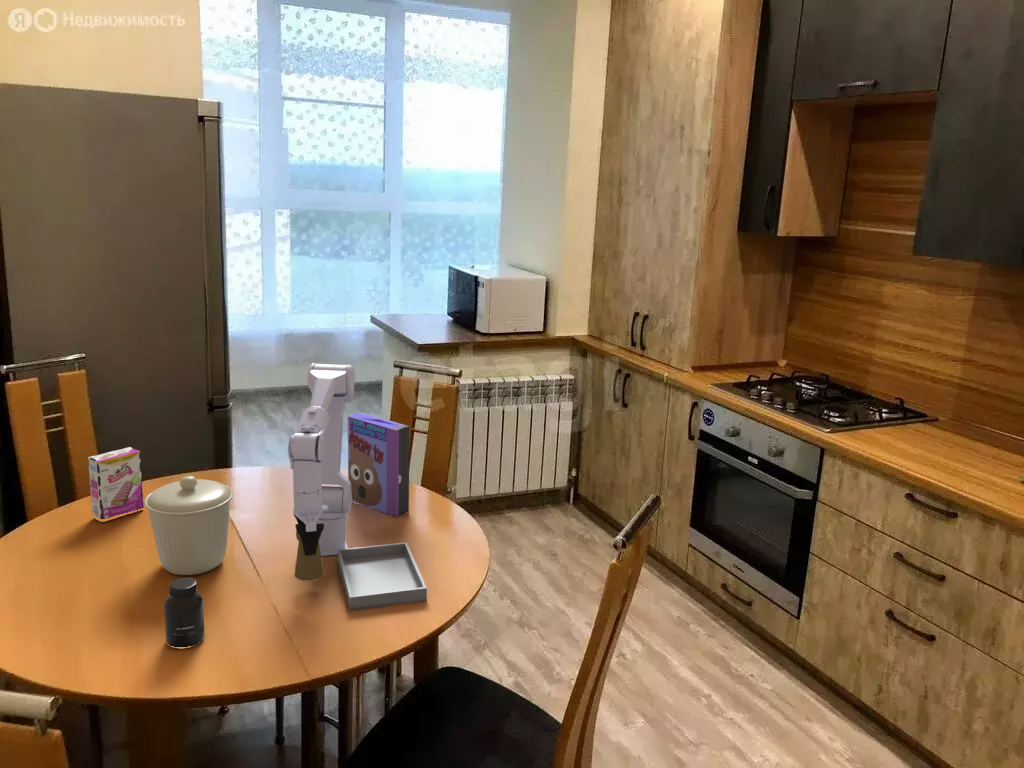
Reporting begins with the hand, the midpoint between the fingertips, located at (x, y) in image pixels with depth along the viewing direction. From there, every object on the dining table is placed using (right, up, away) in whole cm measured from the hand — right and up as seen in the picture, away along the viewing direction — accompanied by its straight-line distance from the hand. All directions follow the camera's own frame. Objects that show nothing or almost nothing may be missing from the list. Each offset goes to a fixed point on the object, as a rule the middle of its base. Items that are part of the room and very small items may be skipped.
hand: (309, 548), depth 171 cm
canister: (-28, -6, +10) cm, 31 cm away
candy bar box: (-57, +2, +34) cm, 66 cm away
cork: (0, -6, +1) cm, 6 cm away
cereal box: (+7, +2, +46) cm, 46 cm away
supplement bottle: (-19, -14, -18) cm, 29 cm away
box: (+14, -8, +7) cm, 18 cm away
